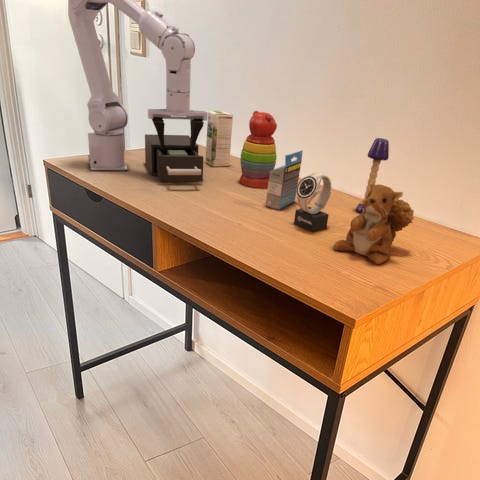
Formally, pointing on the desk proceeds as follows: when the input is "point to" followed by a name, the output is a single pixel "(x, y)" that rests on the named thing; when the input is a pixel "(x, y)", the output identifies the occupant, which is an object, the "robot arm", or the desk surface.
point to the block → (177, 152)
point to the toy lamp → (375, 163)
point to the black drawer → (178, 165)
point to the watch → (306, 192)
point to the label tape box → (284, 182)
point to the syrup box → (218, 138)
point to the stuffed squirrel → (377, 224)
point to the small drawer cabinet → (169, 142)
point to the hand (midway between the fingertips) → (177, 149)
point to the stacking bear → (259, 151)
